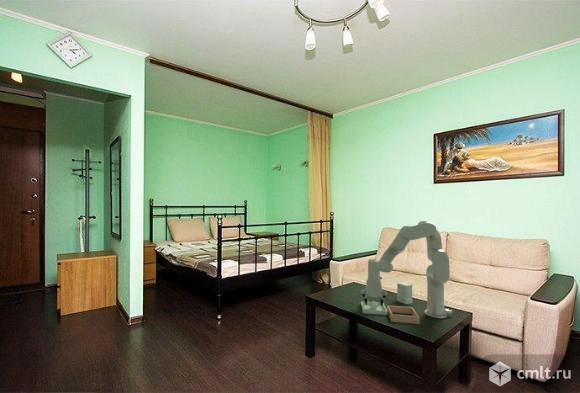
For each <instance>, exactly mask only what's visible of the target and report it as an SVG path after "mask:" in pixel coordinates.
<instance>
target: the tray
mask: <svg viewBox="0 0 580 393" xmlns="http://www.w3.org/2000/svg"><path fill="white" fill-rule="evenodd" d="M371 302H372V301H367V305H366V303H365V302H364V301H363V300H362V301H360V305H361V307H360V308H361V311H362V314H365V315H366V314H367V315H378V316H389V315H388V311H387V306H386V305H385V303H384V302H383V304H382V306H381V304H380V302H376V301H375V302H376V303H377V304H378V307H377V308H376V309H372V308H371V307H370V303H371Z"/></svg>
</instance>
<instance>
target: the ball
mask: <svg viewBox="0 0 580 393" xmlns="http://www.w3.org/2000/svg"><path fill="white" fill-rule="evenodd" d="M370 302H371V303H370V307H371V308H372V309H376V308H377V307H378V304H377V303H378V302H377V303H376V301H374V300H372V301H370Z"/></svg>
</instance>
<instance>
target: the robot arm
mask: <svg viewBox="0 0 580 393" xmlns="http://www.w3.org/2000/svg"><path fill="white" fill-rule="evenodd" d="M423 238H425V239H426V251H427V252H426V255H427V259H428V260H429V261H430V262H431V263H432V264H429V265H428V266H427V267H426V271H425V272H426V275H425V276H426V283H427V284H426V285H427V286H426V289H427V290H426V295H427V297H426V301H427V302H426V305H427V306H426V309H425V310H424V315H427V316H428V317H430V318H434V319H445V318H447V317H448V314H453V313H454V312H453V309H450V310H449V308H445V284H446V283H448V281H449V280H450V275H451V274H450V273H451V272H450V259H449V258H450V257H449V255H448V253H447V252H446V251H444V250H443V242H442V237H441V234H440V232H439V230H438V228H437V226H436V225H435V224H434V222H431V221H427V220H420V221H419V222H418V223H417V224H416V225H410V226H409V225H404V226H402V227H401V228H400V229H399V231H398V233H397V234H396V236H395V237H394V239H393V241H392V242H391V244H390V245H389V246H388V247H387V249H385V251H384V252H383V254H382V256H381V257H380V259H379V260H378V259H376V258H373V259H372V258H371V259H368V261H367V279H366V283H365V288H363V289H361V290H360V291H359V292H360V294H361V295H362V297H363V298H364V299H363V300H364V301H363V302H365V303H366V305H367V302H368V297H377V298H378V297H379V298H380V299H379V300H380V302H379V303H380V304H381V306H382V304H383V303H384V299H385V298H386V297H387V296H388V292H387V291H385V290H383V289H382V288H383V287H382V280H383V277H382V276H381V272H382V273H391V272H392V271H393V270H394V265H393V264H392V262H393V261H394V259H395V258H396V257H397V256H398V255H400V254H402V253H403V252H404V250H406V247H407V246H408V245H409V244H410V241H416V240H419V239H423ZM364 292H365V294H364Z"/></svg>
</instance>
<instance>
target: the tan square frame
mask: <svg viewBox="0 0 580 393" xmlns="http://www.w3.org/2000/svg"><path fill="white" fill-rule="evenodd" d="M386 309H387V311H388V315H387V316H388V317H389V319H390V321H391V322H392V323H402V324H413V325H414V324H416V325H420V316H419V315H418V313H417V312H416V310H415V309H414V307H413V306H412V307H411V306H401V305H400V306H399V305H386ZM393 313H395V314H393ZM396 313H397V314H396ZM403 314H405V315H403ZM407 314H408V315H407ZM409 314H410V315H409Z"/></svg>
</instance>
